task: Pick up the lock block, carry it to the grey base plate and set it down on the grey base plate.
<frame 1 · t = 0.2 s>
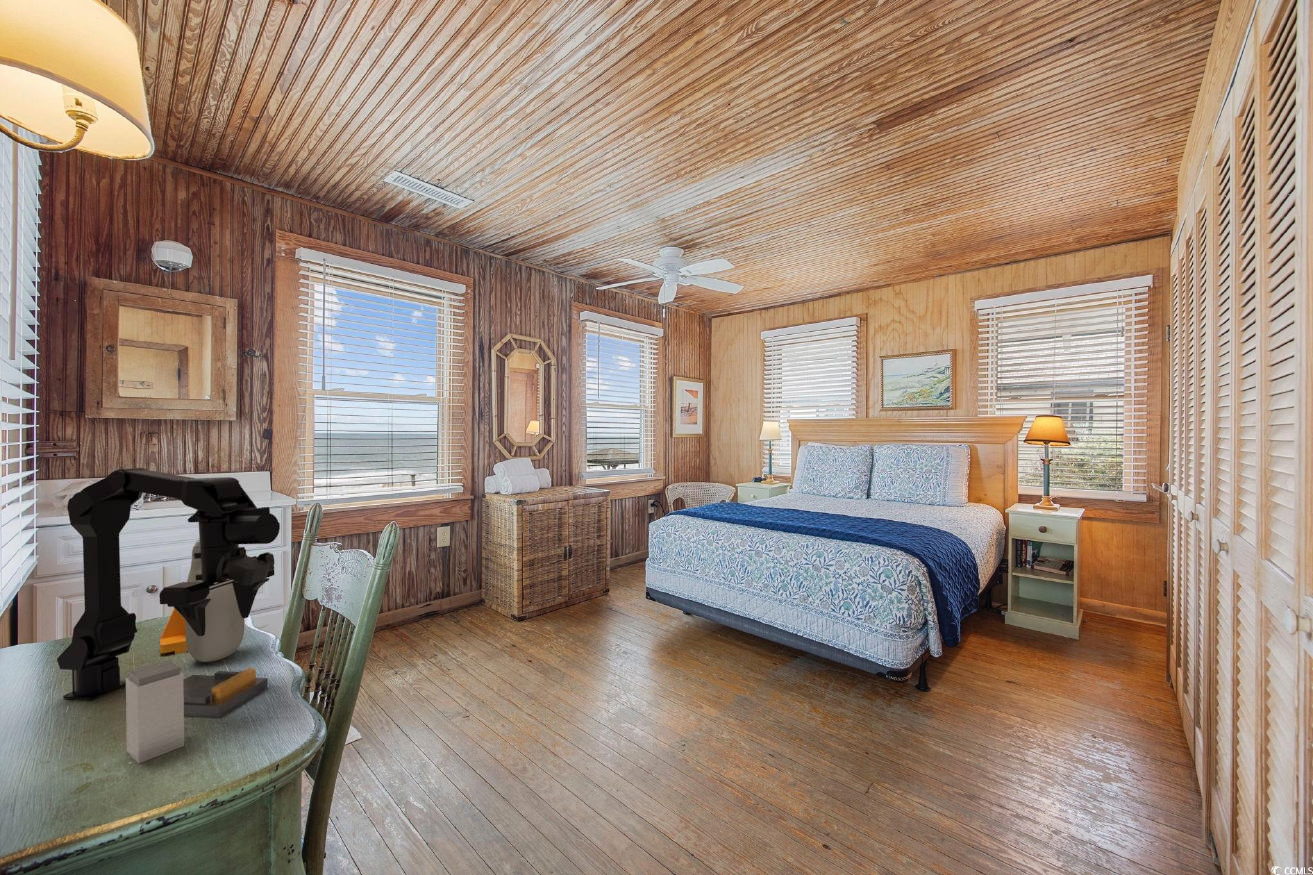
hand: (224, 626, 103), 14 cm above the table, tool pointing down, fingers open, 9 cm apart
lock block: (155, 748, 88), on the table
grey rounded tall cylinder: (216, 659, 122), on the table
grey base plate: (205, 700, 104), on the table
bracket: (191, 647, 129), on the table
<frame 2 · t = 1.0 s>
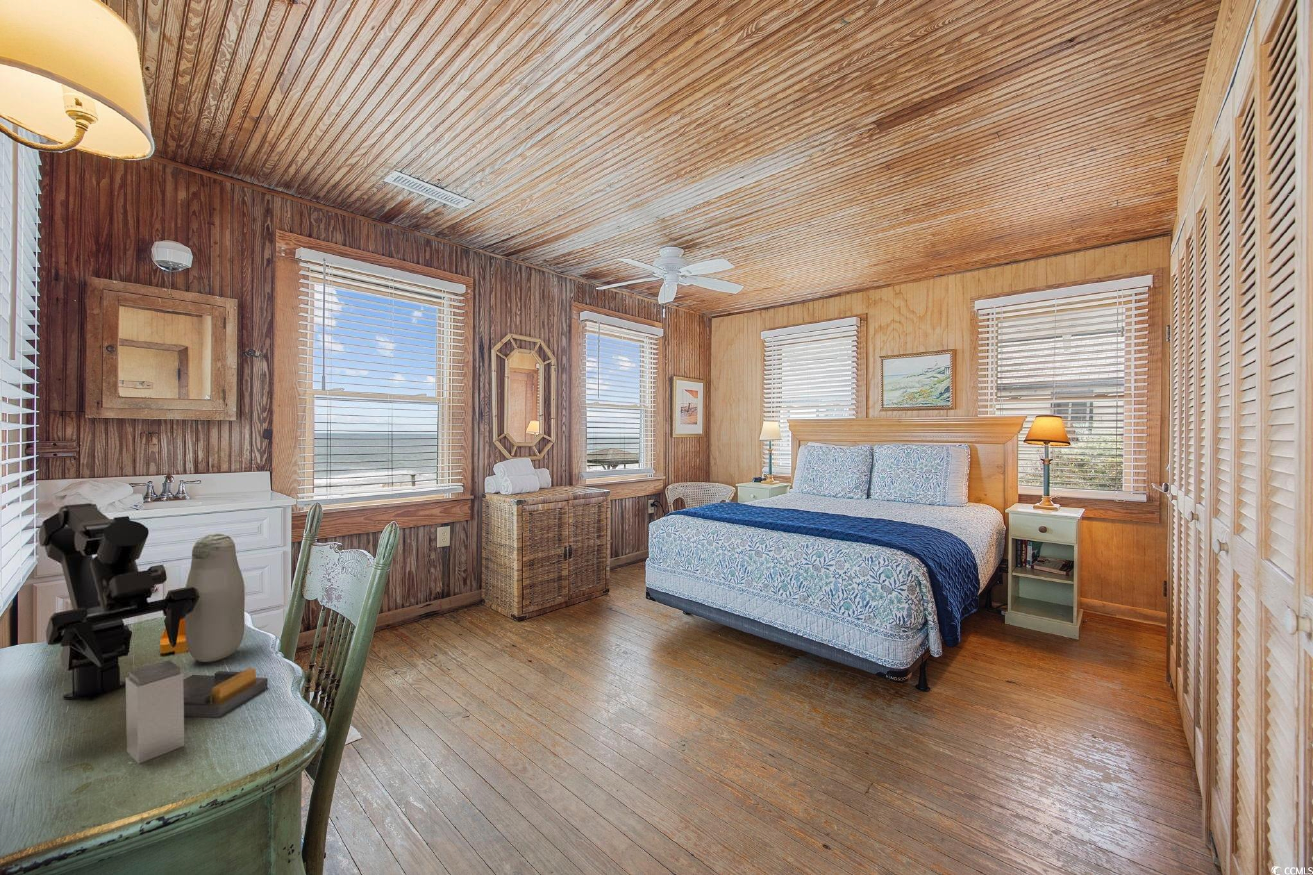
hand: (139, 655, 92), 13 cm above the table, tool tilted 45°, fingers open, 9 cm apart
nothing on the table moved.
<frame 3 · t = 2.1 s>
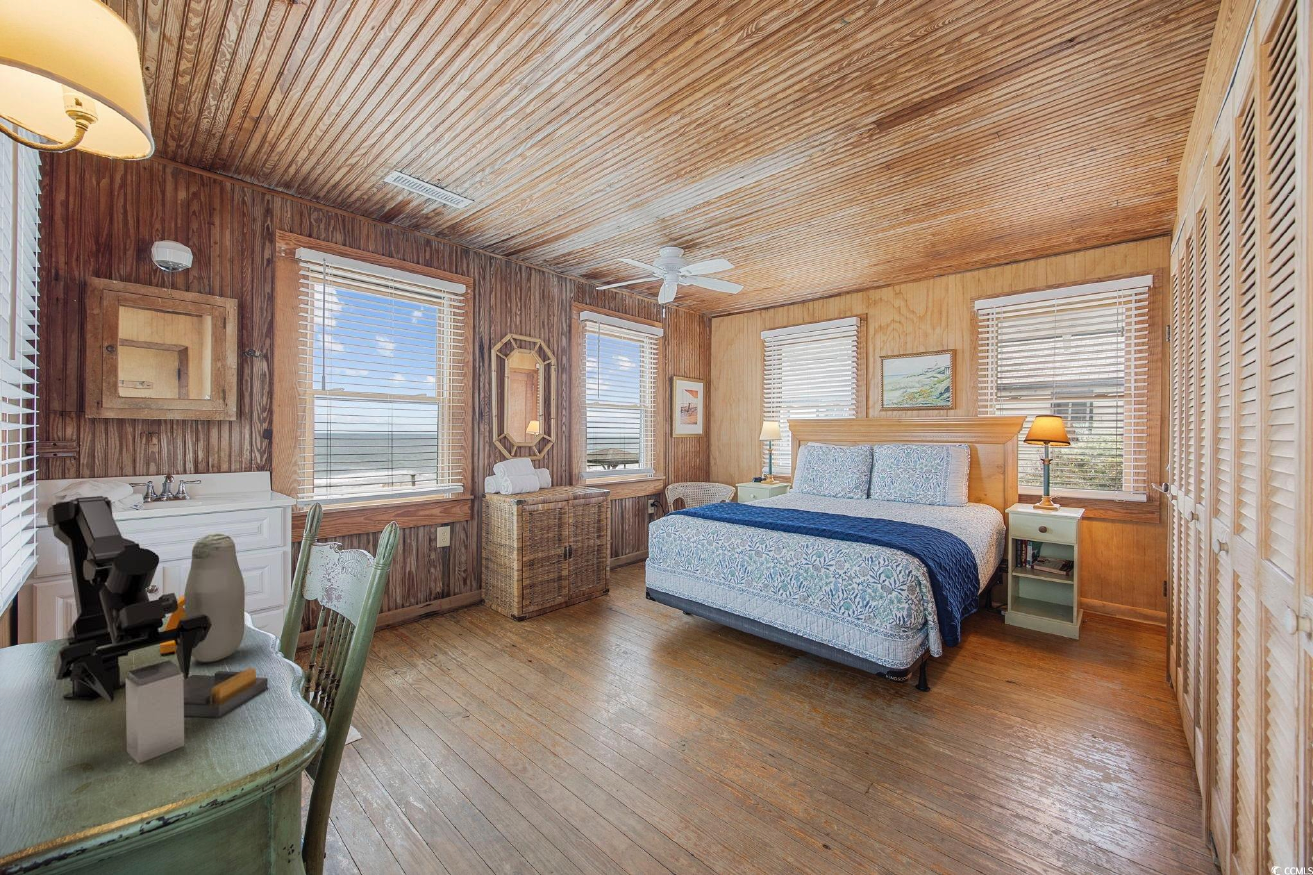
hand: (151, 688, 89), 9 cm above the table, tool tilted 45°, fingers open, 9 cm apart
nothing on the table moved.
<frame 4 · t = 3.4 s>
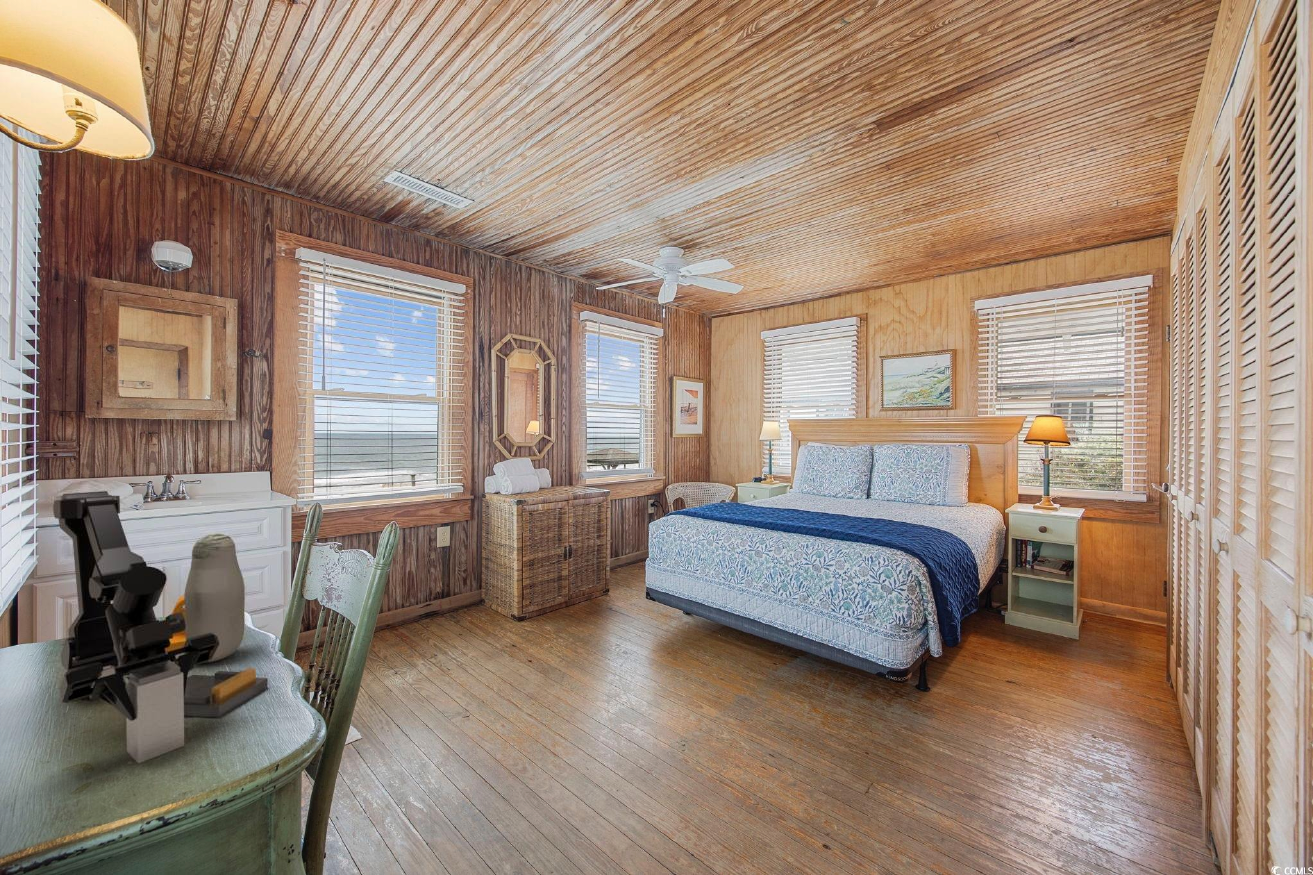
hand: (158, 710, 87), 7 cm above the table, tool tilted 45°, fingers closed on lock block, 6 cm apart
lock block: (155, 748, 88), on the table, touching gripper
everything else where it was.
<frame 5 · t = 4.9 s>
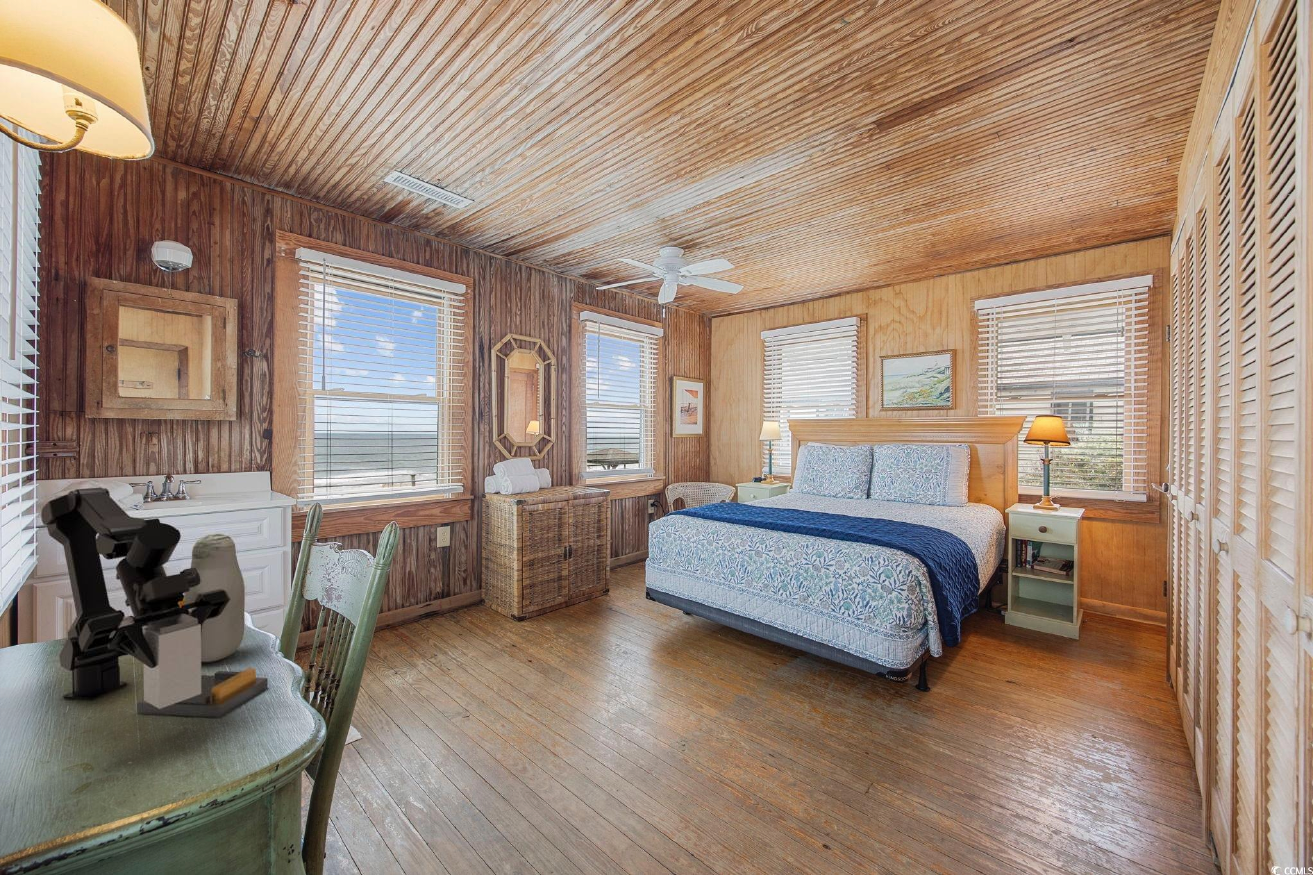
hand: (176, 659, 91), 13 cm above the table, tool tilted 45°, fingers closed on lock block, 6 cm apart
lock block: (172, 696, 92), point 7 cm above the table, touching gripper
everything else where it was.
when the fingers open (10 cm above the table, at t = 6.6 s): lock block drops 1 cm, resting on grey base plate.
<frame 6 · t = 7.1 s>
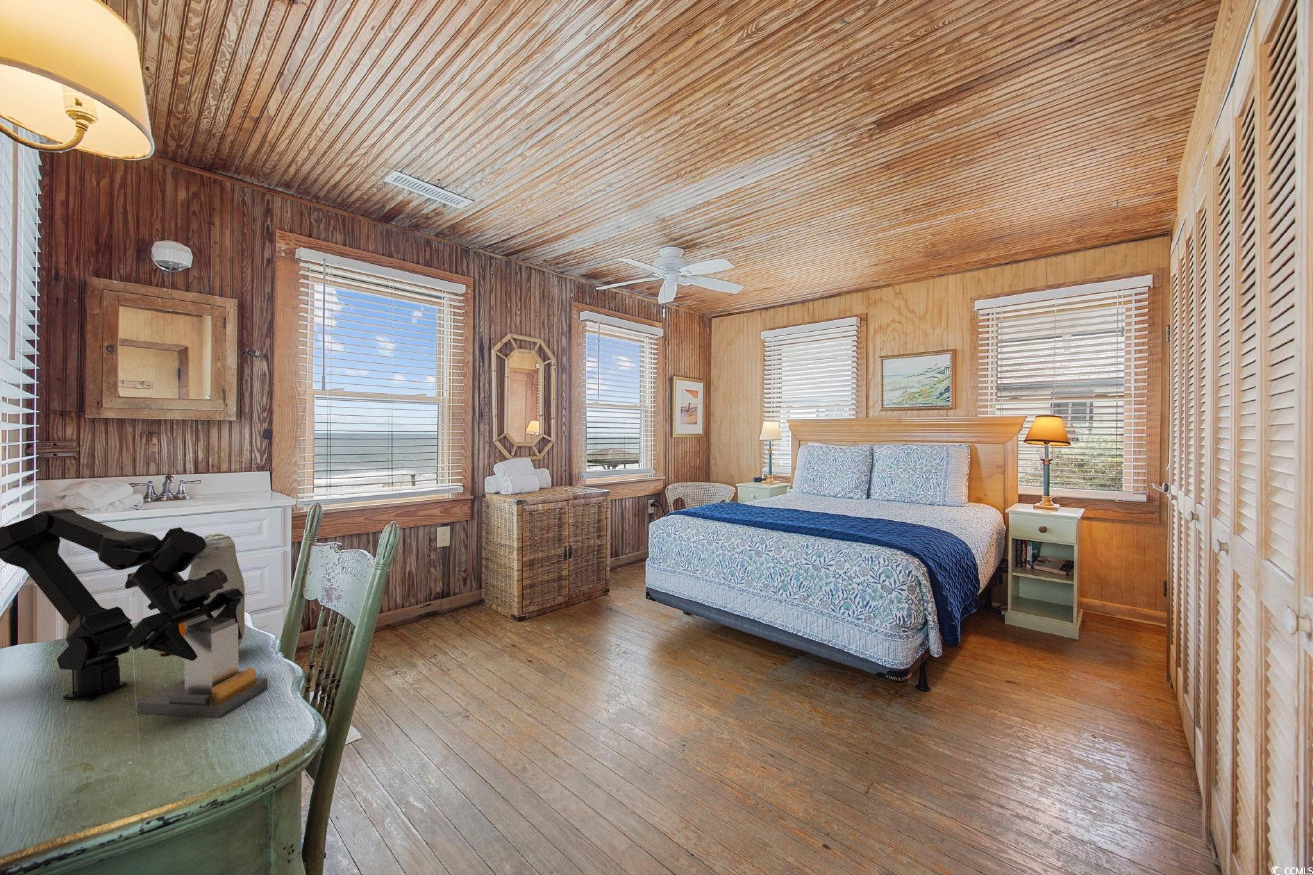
hand: (218, 648, 103), 10 cm above the table, tool tilted 45°, fingers open, 9 cm apart
lock block: (212, 690, 103), point 2 cm above the table, touching grey base plate
everything else where it was.
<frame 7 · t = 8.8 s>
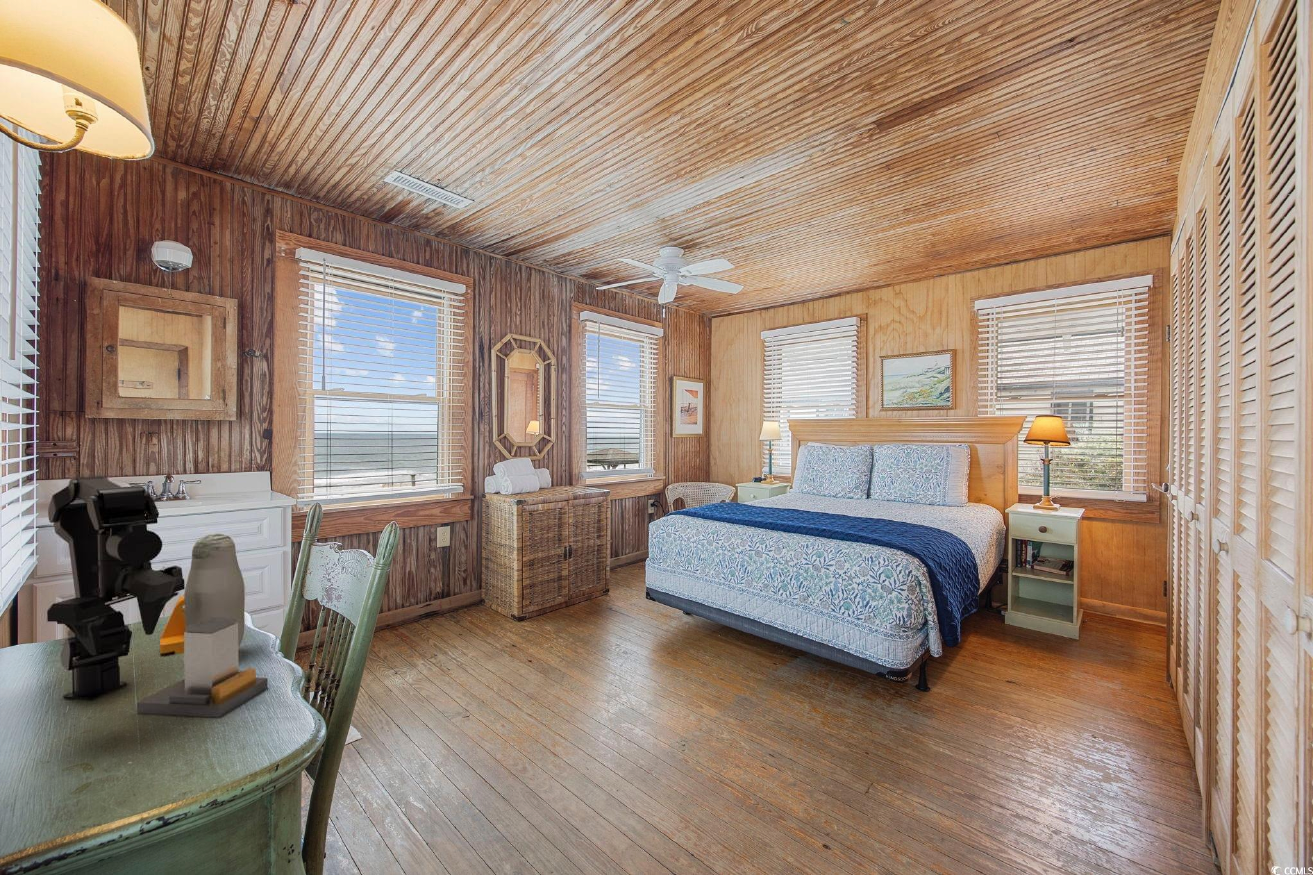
hand: (123, 644, 97), 13 cm above the table, tool pointing down, fingers open, 9 cm apart
nothing on the table moved.
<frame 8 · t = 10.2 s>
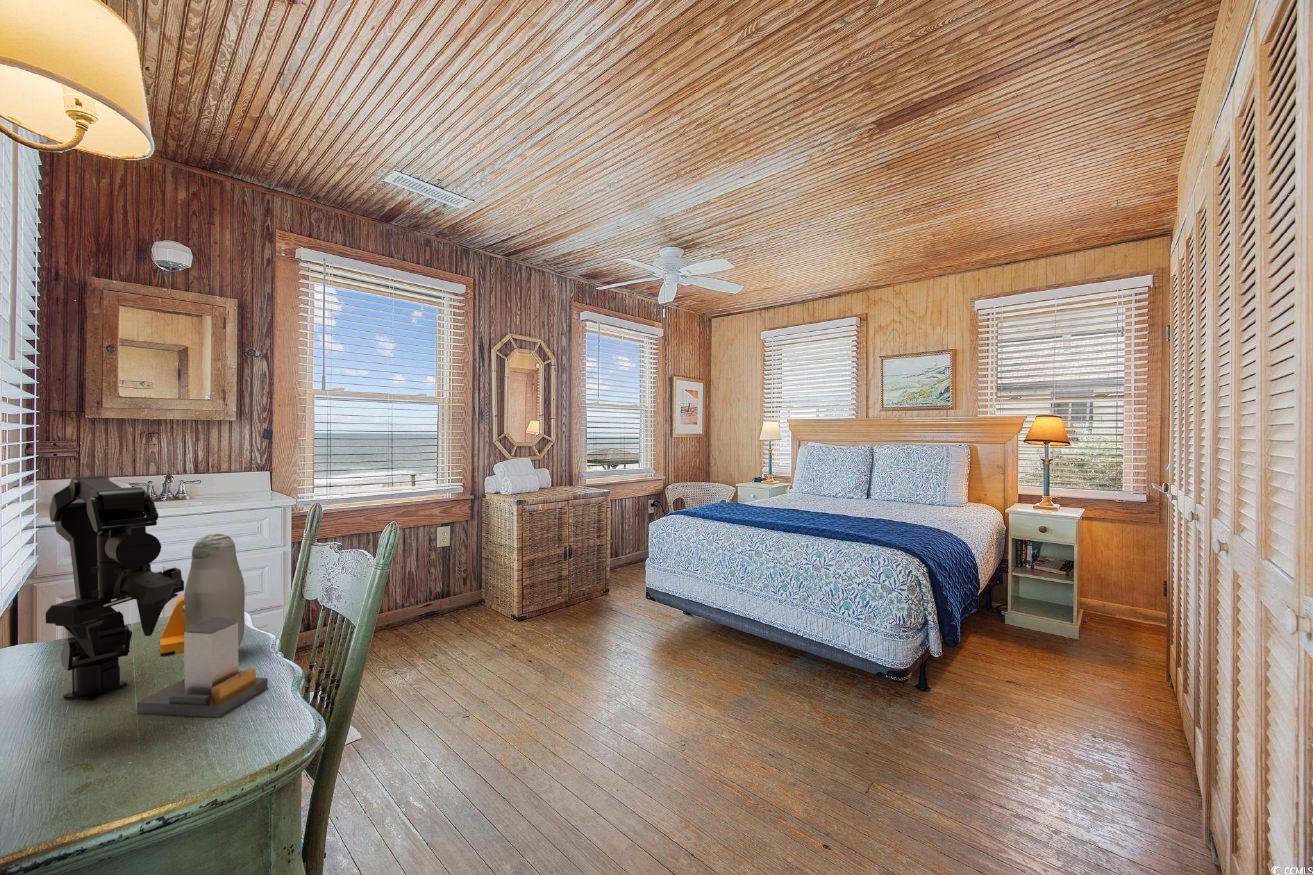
hand: (122, 645, 97), 13 cm above the table, tool pointing down, fingers open, 9 cm apart
nothing on the table moved.
at the end: lock block inside the target area on the grey base plate (0.2 cm from its centre), point 2.0 cm above the grey base plate's base; lock block tilted 0°; the gripper is holding nothing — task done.
